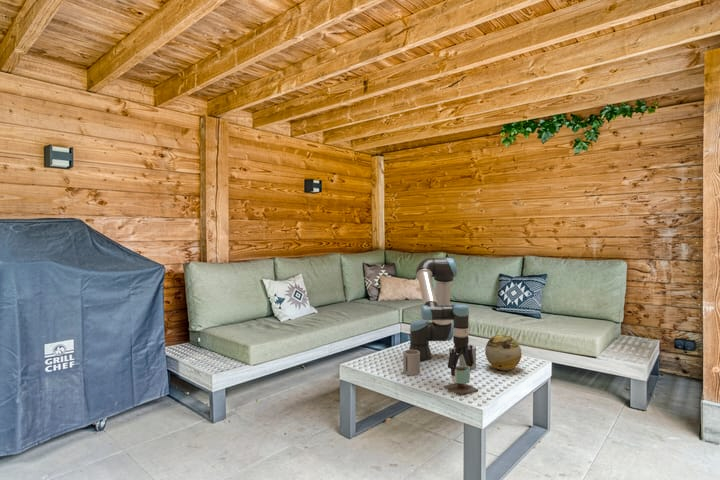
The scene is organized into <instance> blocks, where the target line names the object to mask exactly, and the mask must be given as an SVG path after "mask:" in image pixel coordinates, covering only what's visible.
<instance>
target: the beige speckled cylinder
mask: <svg viewBox="0 0 720 480" xmlns="http://www.w3.org/2000/svg"><path fill="white" fill-rule="evenodd" d="M468 345H471V346H472V353H473V360H474V364H472V367H471V371H474V370H476V369H477V351H476V350H477V345H473V344H469V343H468ZM458 362H459V365H458V366H463V367H465V365H466V362H465V359H464V357H463V354H461V355H460V357H459V359H458Z"/></svg>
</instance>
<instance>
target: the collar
mask: <svg viewBox="0 0 720 480" xmlns="http://www.w3.org/2000/svg"><path fill="white" fill-rule="evenodd" d="M458 367H463V366H459V365H456V370H457V383H461V384H470V379H469V368H467V367H463V368H464V371H461V370H458Z"/></svg>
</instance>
